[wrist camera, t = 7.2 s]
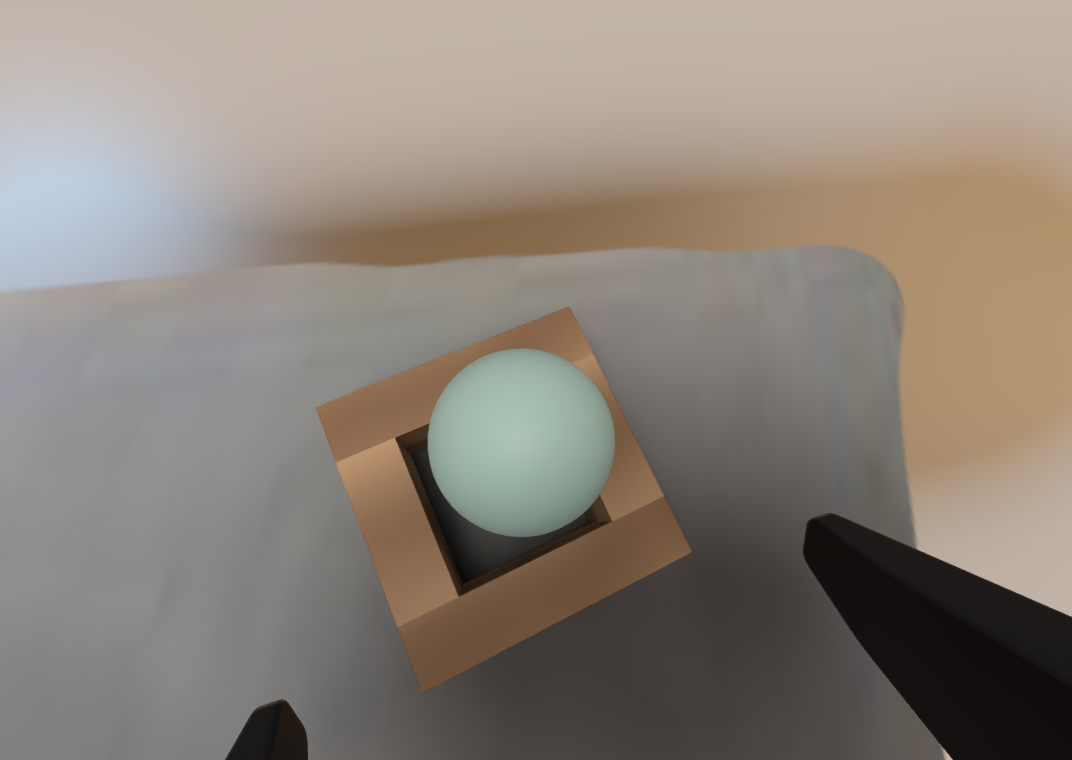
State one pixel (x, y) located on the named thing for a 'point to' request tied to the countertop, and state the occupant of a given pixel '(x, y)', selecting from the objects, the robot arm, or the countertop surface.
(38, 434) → the countertop surface
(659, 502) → the wooden square socket block
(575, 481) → the dowel
